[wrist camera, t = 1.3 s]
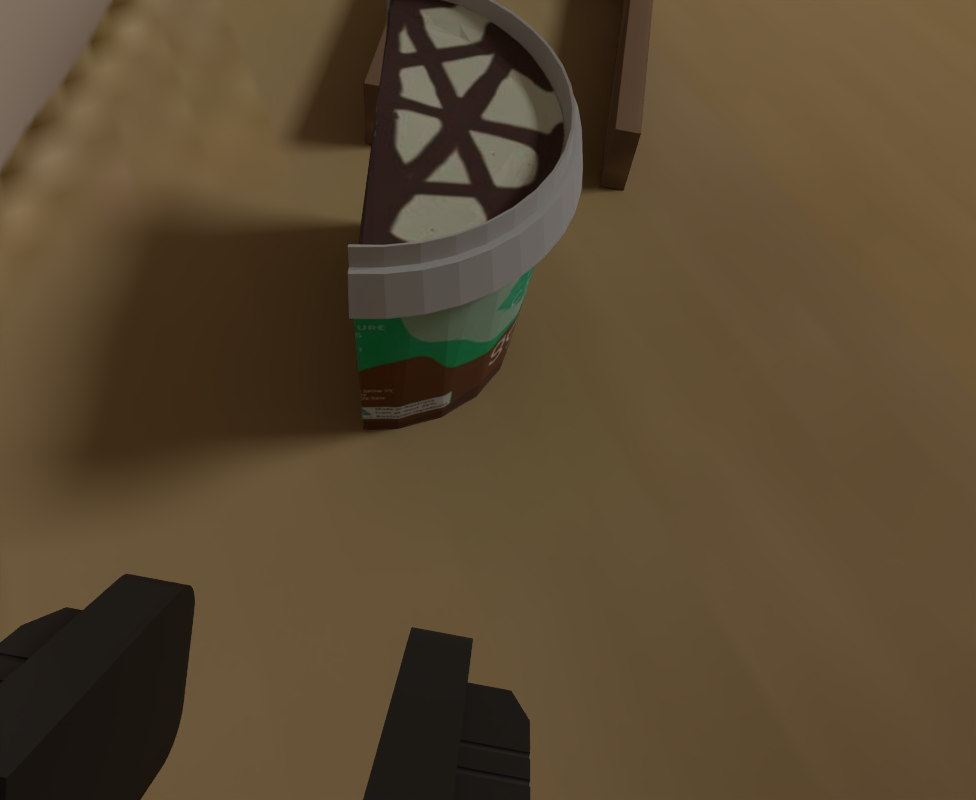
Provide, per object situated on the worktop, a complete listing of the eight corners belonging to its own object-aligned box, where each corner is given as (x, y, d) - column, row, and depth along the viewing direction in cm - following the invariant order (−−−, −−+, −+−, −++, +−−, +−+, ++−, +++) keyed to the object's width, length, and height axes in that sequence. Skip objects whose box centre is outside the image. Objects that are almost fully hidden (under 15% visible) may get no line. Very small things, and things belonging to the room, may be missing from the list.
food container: (545, 479, 29) (610, 284, 20) (358, 468, 28) (345, 264, 20) (540, 209, 35) (586, -23, 27) (388, 197, 35) (387, -43, 26)
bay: (645, -24, 45) (660, -82, 42) (623, 190, 36) (640, 133, 34) (437, -62, 45) (439, -122, 42) (365, 143, 36) (363, 83, 34)
